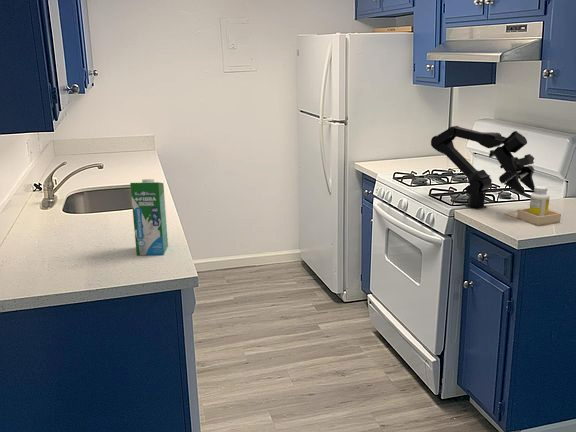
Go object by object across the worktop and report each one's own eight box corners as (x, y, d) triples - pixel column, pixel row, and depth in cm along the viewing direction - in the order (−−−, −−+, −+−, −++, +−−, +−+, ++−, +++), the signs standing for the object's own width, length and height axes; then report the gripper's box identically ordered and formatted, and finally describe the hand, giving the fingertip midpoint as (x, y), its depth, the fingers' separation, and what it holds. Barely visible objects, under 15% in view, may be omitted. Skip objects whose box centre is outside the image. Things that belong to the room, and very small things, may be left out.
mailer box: (503, 213, 237) (504, 205, 236) (525, 210, 241) (525, 202, 240) (538, 225, 221) (539, 217, 220) (560, 222, 225) (561, 213, 224)
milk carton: (168, 246, 204) (163, 176, 197) (163, 255, 195) (158, 182, 188) (142, 246, 203) (136, 176, 196) (136, 255, 195) (130, 182, 188)
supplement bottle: (542, 216, 231) (546, 185, 227) (549, 221, 224) (553, 189, 221) (525, 216, 231) (529, 185, 227) (532, 221, 224) (535, 189, 221)
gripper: (510, 149, 221) (534, 183, 216) (533, 145, 233) (556, 177, 229) (489, 166, 229) (511, 199, 224) (511, 161, 241) (533, 193, 236)
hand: (529, 191), depth 228 cm, fingers open, 9 cm apart
